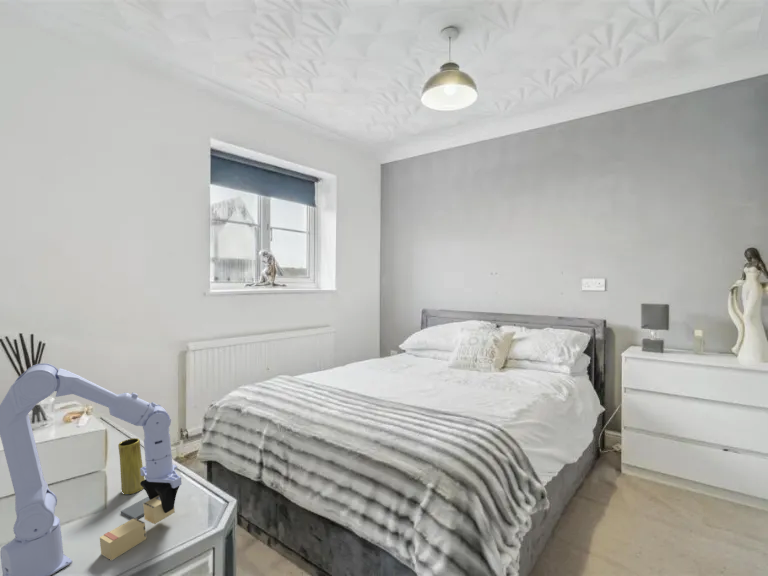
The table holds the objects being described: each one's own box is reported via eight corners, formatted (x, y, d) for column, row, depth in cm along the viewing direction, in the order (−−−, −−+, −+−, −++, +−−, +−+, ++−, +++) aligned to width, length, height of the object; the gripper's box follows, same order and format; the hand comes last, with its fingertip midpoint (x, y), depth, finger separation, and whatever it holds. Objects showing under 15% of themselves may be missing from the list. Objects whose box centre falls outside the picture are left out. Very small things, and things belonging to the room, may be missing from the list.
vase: (133, 495, 111) (129, 447, 110) (115, 494, 112) (111, 446, 112) (150, 483, 117) (146, 437, 116) (133, 482, 118) (128, 437, 118)
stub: (154, 524, 94) (153, 507, 94) (144, 519, 96) (143, 503, 96) (174, 512, 98) (173, 496, 98) (164, 507, 100) (163, 492, 100)
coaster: (135, 520, 100) (135, 518, 99) (120, 513, 103) (120, 511, 103) (162, 505, 106) (162, 503, 106) (147, 498, 109) (147, 496, 109)
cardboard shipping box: (111, 560, 86) (109, 542, 85) (101, 554, 88) (99, 536, 88) (146, 539, 92) (144, 522, 92) (136, 533, 94) (134, 517, 94)
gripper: (191, 453, 97) (195, 506, 98) (158, 443, 104) (162, 492, 105) (163, 467, 91) (168, 523, 92) (130, 455, 98) (134, 507, 99)
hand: (163, 507), depth 98 cm, fingers closed on stub, 4 cm apart
